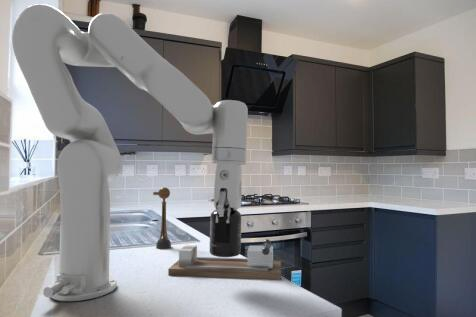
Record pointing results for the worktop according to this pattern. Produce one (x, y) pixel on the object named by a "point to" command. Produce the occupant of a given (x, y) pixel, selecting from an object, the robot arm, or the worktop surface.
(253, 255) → the block
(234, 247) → the supplement bottle
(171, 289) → the worktop surface
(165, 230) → the wooden tabletop sculpture
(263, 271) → the vise base
